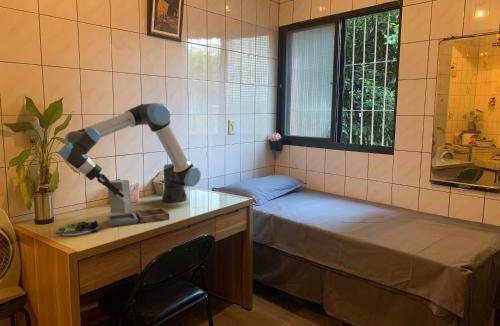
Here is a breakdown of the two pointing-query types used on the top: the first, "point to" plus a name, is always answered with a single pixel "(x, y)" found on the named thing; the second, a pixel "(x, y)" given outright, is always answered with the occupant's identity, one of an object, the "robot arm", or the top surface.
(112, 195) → the skincare box
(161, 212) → the square wooden tray
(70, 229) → the salad plate
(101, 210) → the top surface
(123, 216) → the tray
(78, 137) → the robot arm
